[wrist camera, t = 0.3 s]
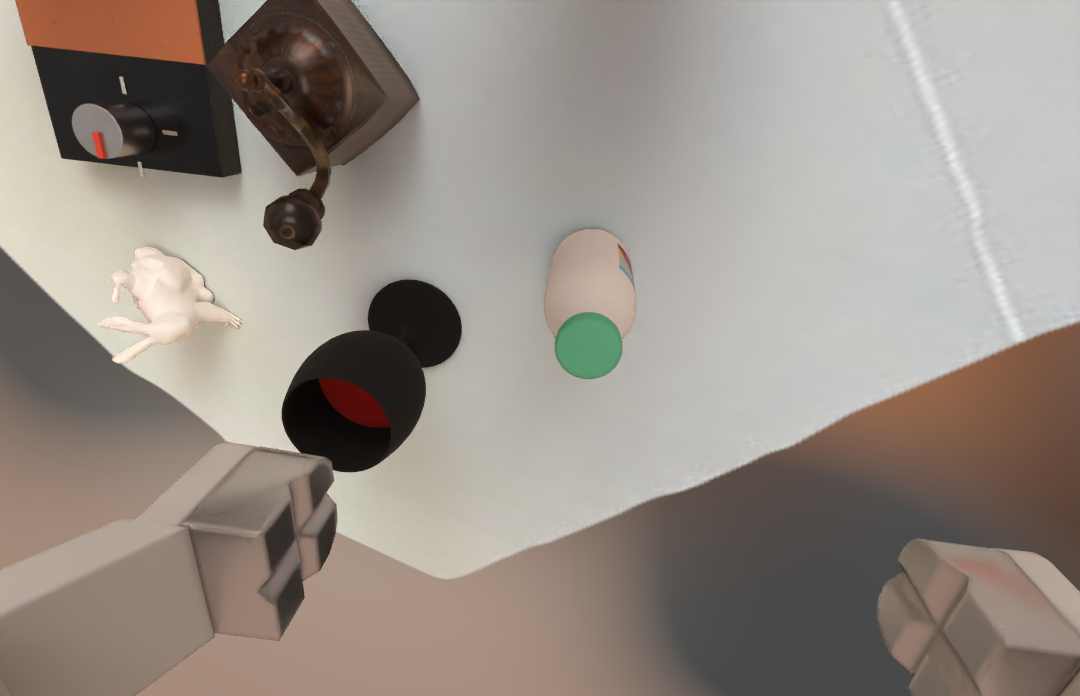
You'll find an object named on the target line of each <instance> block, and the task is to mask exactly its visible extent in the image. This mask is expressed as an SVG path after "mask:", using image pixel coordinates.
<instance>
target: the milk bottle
mask: <svg viewBox="0 0 1080 696" xmlns="http://www.w3.org/2000/svg"><path fill="white" fill-rule="evenodd" d="M635 311H636V293H635V286H634V280H633V274H632V269H631V264H630V259H629V256H628V253H627V251H626V248H625V247H624V245H623V244H622V243H621V241H620V240H619V239H618V238H616V237H615V236H614V235H612V234H611V233H609V232H606V231H604V230H600V229H583V230H580V231H577V232H575V233H573V234H571V235H569V236H568V237H567V238H565V239H564V240H563V241H562V242H561V244H560V245H559V246H558V248H557V250H556V252H555V255H554V257H553V261H552V264H551V268H550V272H549V276H548V281H547V285H546V290H545V297H544V312H545V318H546V321H547V324H548V326H549V328H550V330H551V332H552V333H553V335H554V336H555V337H556V340H555V353H556V357H557V359H558V361H559V363H560V365H561V366H562V367H563V368H564V369H565V370H566V371H567V372H568V373H570V374H571V375H573V376H576V377H579V378H583V379H594V378H599V377H602V376H604V375H606V374H608V373H609V372H610V371H612V370H613V369H614V368H615V366H616V365H617V363H618V362H619V360H620V357H621V354H622V339H623V338H624V337H625V335H626V334H627V333H628V331H629V329H630V327H631V325H632V323H633V320H634V317H635Z"/></svg>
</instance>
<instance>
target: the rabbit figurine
mask: <svg viewBox="0 0 1080 696" xmlns="http://www.w3.org/2000/svg"><path fill="white" fill-rule="evenodd" d="M134 256H135V258H136V261H134V262H133V263H132V264H130V265H129V271H128V273H127V272H126V271H124V270H119V271H116V272H114V273H113V274H112V276H111V281H112V283H113V285H114V286H115V288H114V290H113V294H112V302H114V303H118V302H119V295H120V296H123V295H124V294H125V288H128V290H129V291H130V293H131V295H132V297H133V299H134V301H133V302H134V303H135V305H136V307H137V308H138V309H140V310H141V311H142V312H143V313H144V315H145V316H146V317H147V319H148V321H149V322H150V324H144V323H139V322H136V321H133V320H130V319H127V318H124V317H118V316H117V317H107V318H106V319H103V320H102V321H100V322H99V325H98V326H99V327H102V328H109V329H115V330H119V331H124V332H131V333H141V334H147V335H148V336H147V337H146V338H144V339H142V340H141V341H139V342H137V343H135V344H134V345H132V346H131V347H129V348H128V349H127V350H125V351H124V352H122V353H120V354H118V355H116V356H114V357H113V359H112V360H113V361H114V362H115V363H124V362H128V361H129V360H131V359H133V358H135V357H136V356H137V355H138V354H140V353H142V352H143V351H145V350H146V349H147V348H148V347H150V346H151V345H153V344H172V343H174V342H177V341H180V340H183V339H184V338H185V337H187V335H188V334H190V333H192V332H193V331H194V329H195V327H196V326H197V324H198V322H205V321H216V322H226V323H225V325H226V326H227V325H228V323H229V322H230V323H232V324H233V325H234V326H235V327H237V325H239V326H241V325H240V323H239V322H241V323H243V322H242V321H241V319H239V318H237V317H236V316H234V315H233V314H232V313H230V312H228V311H225V310H223V309H221V308H219V307H217V306H215V305H213V304H211V302H212V301H213V299H214V297H213V294H212V293H211V292H210V291H209V290H208V289H206V288H205V287H204V279H203V277H202V276H201V275H200V274H199V273H197V272H196V271H195V270H194V269H192V268H191V267H190V266H189V265H187V264H186V263H185V262H184V261H182V260H180V259H179V258H176V257H169V256H166V255H164V254H163V253H162V252H161V251H159V250H157V249H154V248H151V247H142V248H139V249H137V250H136V251H135V252H134ZM237 328H238V327H237Z"/></svg>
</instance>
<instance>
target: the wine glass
mask: <svg viewBox="0 0 1080 696" xmlns="http://www.w3.org/2000/svg"><path fill="white" fill-rule="evenodd" d="M368 324H369V329H370V331H368V330H362V331H353V332H348V333H344V334H341V335H339V336H337V337H334V338H332V339H330V340H329V341H327V342H325V343H324V344H322V345H321V346H319V347H318V348H317V349H316V350H315V351H314V352H313V353H312V354H311V355H310V356H308V358H307V359H306V360H305V361H304V362H303V364H302V365H301V367H300V368H299V370H298V371H297V373H296V374H295V376H294V378H293V380H292V382H291V384H290V386H289V389H288V391H287V393H286V396H285V399H284V402H283V406H282V422H283V426H284V429H285V432H286V434H287V436H288V437H289V439H290V441H291V442H292V443H293V445H294V446H295V447H296V448H297V449H298V450H299V452H301V453H303V454H309V455H315V456H321V457H326V458H327V459H329V460H330V461H331V462H332V468H333V470H335V471H340V472H358V471H363V470H367V469H370V468H372V467H374V466H375V465H377V464H379V463H380V462H381V461H383V460H384V459H385V458H387V457H388V456H389V455H390V454H392V453H393V452H394V451H395V450H396V449H397V448H398V447H399V446H400V445H401V444H402V443H403V442H404V441H405V440H406V438H407V437H408V436H409V435H410V433H411V432H412V431H413V429H414V427H415V426H416V424H417V422H418V420H419V418H420V416H421V413H422V410H423V407H424V402H425V396H426V383H425V377H424V373H423V370H422V368H426V367H432V366H435V365H438V364H440V363H442V362H444V361H445V360H447V359H448V358H449V357H450V356H451V355H452V354H453V353H454V351H455V350H456V348H457V346H458V344H459V341H460V338H461V320H460V317H459V314H458V311H457V309H456V307H455V305H454V304H453V303H452V301H451V300H450V299H449V298H448V297H447V296H446V294H445V293H443V292H442V291H441V290H439V289H438V288H436V287H434V286H433V285H430V284H428V283H425V282H422V281H418V280H400V281H396V282H393V283H391V284H388V285H387V286H385V287H384V288H382V289H381V290H380V291H379V292H378V293H377V294H376V296H375V297H374V299H373V300H372V302H371V305H370V308H369V312H368Z"/></svg>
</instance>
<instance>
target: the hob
mask: <svg viewBox="0 0 1080 696" xmlns="http://www.w3.org/2000/svg"><path fill="white" fill-rule="evenodd" d="M196 1H197V8H198V15H199V21H200V28H201V35H202V41H203V48H204V55H205V61H206V65H203V64H194V63H185V62H176V61H167V60H158V59H149V58H140V57H130V56H121V55H112V54H103V53H94V52H85V51H76V50H67V49H58V48H49V47H39V46H31V47H32V51H33V55H34V58H35V62H36V66H37V69H38V73H39V77H40V80H41V84H42V88H43V92H44V95H45V99H46V103H47V106H48V110H49V114H50V117H51V121H52V125H53V128H54V132H55V136H56V139H57V143H58V147H59V151H60V154H61V158H63V159H71V160H80V161H88V162H97V163H105V164H113V165H122V166H130V167H139V172H140V176H141V177H145V173H144V169H143V168H147V169H156V170H164V171H172V172H181V173H189V174H198V175H206V176H215V177H227V176H231V175H236V174H240V173H241V166H240V159H239V152H238V144H237V137H236V130H235V122H234V115H233V107H232V100H231V96H230V95H229V93H228V92H227V91H226V90H225V88H224V87H223V86H222V85H221V83H220V82H219V81H218V79H217V78H216V77H215V76H214V74H213V73H212V72H211V70H210V69H209V68H208V67H207V63H208V62H209V61H210V60H211V59H212V58H213V56H214V55H215V54H216V53H217V52H218V51H219V50H220V49H221V48H222V47H223V46H224V41H223V34H222V27H221V19H220V12H219V4H218V0H196ZM120 102H126V103H131V104H134V105H136V106H138V107H140V108H141V109H142V110H143V111H144V112H145V113H146V114H147V115H148V116H149V117H150V119H151V121H152V122H153V125H154V127H155V131H156V142H155V145H154V147H153V148H152V149H151V150H150V151H149V152H147V153H144V154H137V155H130V156H123V157H116V158H109V159H102V158H98V157H97V156H94V155H93V154H91V153H90V152H88V151H87V150H86V149H85V148H84V147H83V146H82V145H81V144H80V143H79V141H78V140H77V138H76V136H75V133H74V131H73V127H72V116H73V113H74V111H75V110H76V108H77V107H79V106H80V105H82V104H87V103H120Z"/></svg>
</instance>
